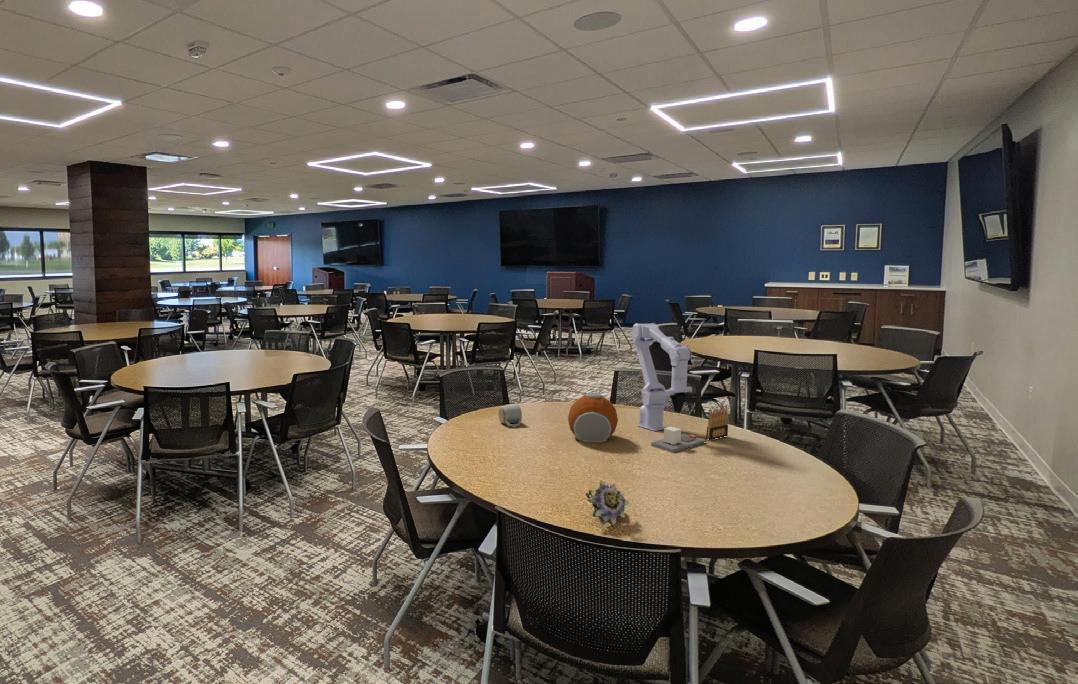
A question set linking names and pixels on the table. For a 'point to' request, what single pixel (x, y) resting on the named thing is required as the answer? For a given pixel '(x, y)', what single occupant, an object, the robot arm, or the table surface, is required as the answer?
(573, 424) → the alarm clock
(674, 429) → the plug
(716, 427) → the ammunition clip
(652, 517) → the table surface
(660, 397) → the robot arm
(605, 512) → the passion flower
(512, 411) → the ceramic mug
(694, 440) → the socket strip
